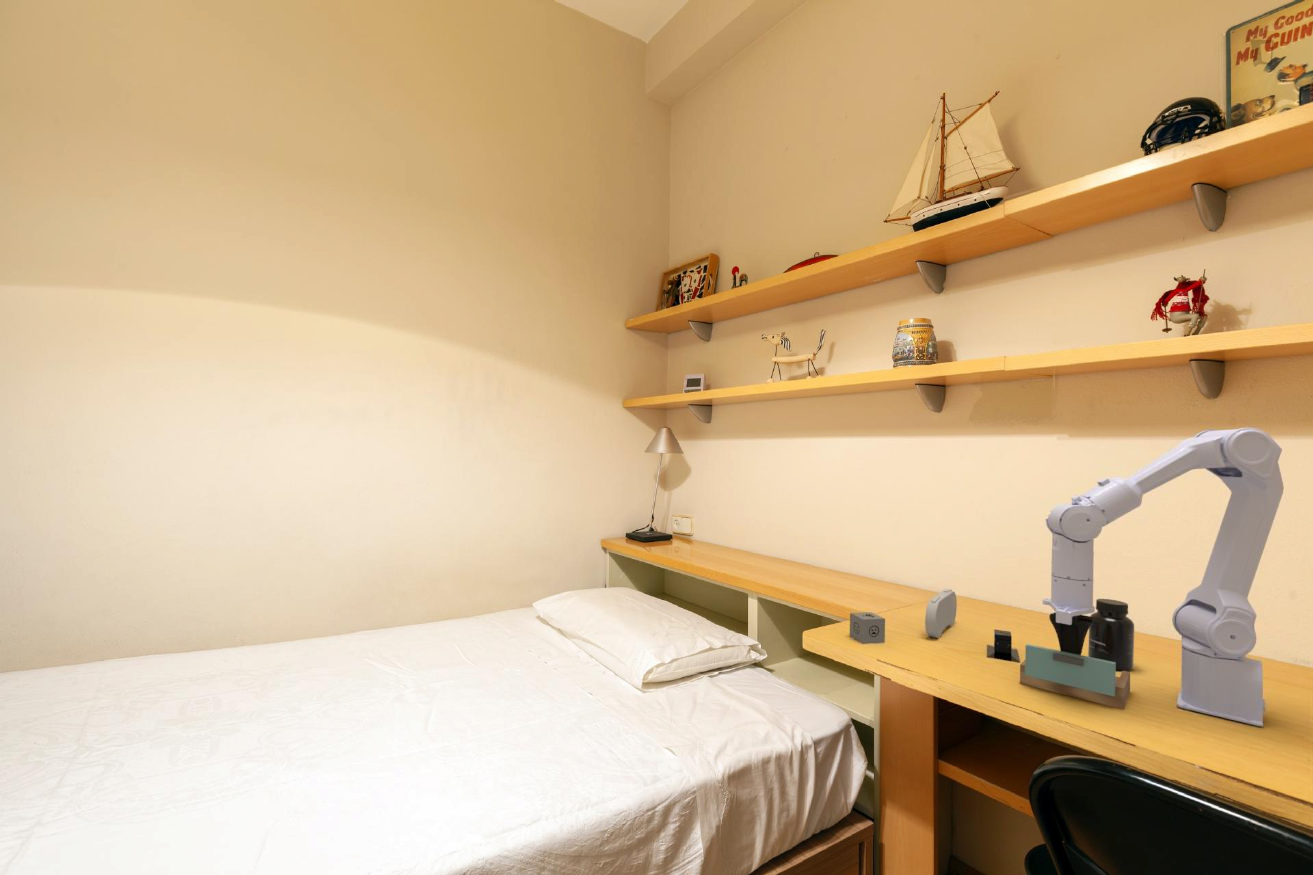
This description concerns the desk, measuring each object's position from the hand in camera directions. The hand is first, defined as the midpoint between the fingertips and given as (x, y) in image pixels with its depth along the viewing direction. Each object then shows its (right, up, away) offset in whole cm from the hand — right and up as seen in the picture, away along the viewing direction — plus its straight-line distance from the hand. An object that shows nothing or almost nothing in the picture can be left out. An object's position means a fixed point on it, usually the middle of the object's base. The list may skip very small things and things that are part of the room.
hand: (1070, 659), depth 99 cm
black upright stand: (0, -7, +20) cm, 21 cm away
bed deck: (+2, -6, +2) cm, 6 cm away
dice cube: (-25, -6, +26) cm, 36 cm away
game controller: (-5, -7, +34) cm, 35 cm away
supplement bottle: (+17, -7, +14) cm, 23 cm away
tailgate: (-1, -3, -1) cm, 4 cm away
